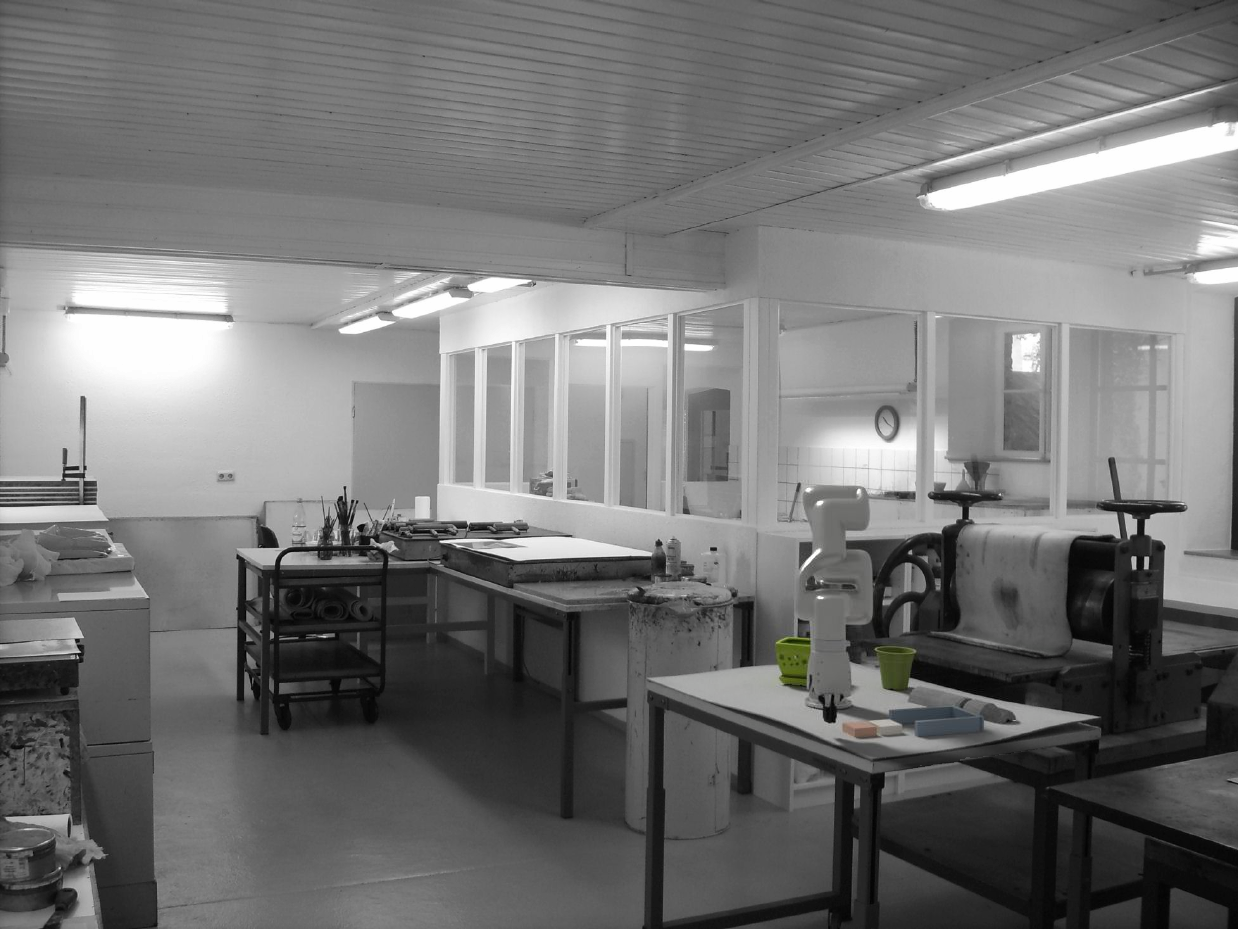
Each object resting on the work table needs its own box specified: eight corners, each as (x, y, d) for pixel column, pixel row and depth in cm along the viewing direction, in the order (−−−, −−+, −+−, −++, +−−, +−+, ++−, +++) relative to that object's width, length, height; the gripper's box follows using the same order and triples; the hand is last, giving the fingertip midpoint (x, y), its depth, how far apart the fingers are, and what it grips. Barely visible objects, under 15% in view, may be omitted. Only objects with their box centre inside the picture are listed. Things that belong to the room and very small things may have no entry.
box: (889, 723, 271) (889, 710, 271) (953, 718, 276) (953, 705, 276) (917, 736, 258) (917, 722, 258) (983, 731, 263) (983, 717, 263)
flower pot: (819, 689, 311) (819, 646, 311) (773, 685, 317) (773, 642, 317) (831, 680, 324) (831, 639, 324) (787, 677, 330) (787, 635, 330)
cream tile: (867, 731, 265) (867, 721, 265) (889, 729, 267) (889, 719, 267) (880, 737, 259) (880, 726, 259) (902, 735, 261) (902, 725, 261)
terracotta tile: (842, 733, 263) (842, 722, 263) (864, 731, 265) (864, 721, 265) (854, 739, 257) (854, 728, 257) (876, 737, 259) (876, 726, 259)
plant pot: (899, 694, 305) (899, 654, 305) (866, 687, 314) (866, 649, 314) (924, 688, 312) (924, 650, 312) (891, 682, 322) (891, 644, 322)
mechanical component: (929, 684, 300) (1019, 705, 274) (929, 700, 300) (1019, 722, 274) (907, 688, 295) (997, 709, 270) (907, 703, 295) (997, 726, 270)
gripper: (850, 642, 264) (850, 717, 264) (794, 645, 260) (794, 720, 260) (865, 647, 257) (865, 723, 257) (808, 649, 253) (808, 727, 252)
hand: (829, 722), depth 258 cm, fingers closed
